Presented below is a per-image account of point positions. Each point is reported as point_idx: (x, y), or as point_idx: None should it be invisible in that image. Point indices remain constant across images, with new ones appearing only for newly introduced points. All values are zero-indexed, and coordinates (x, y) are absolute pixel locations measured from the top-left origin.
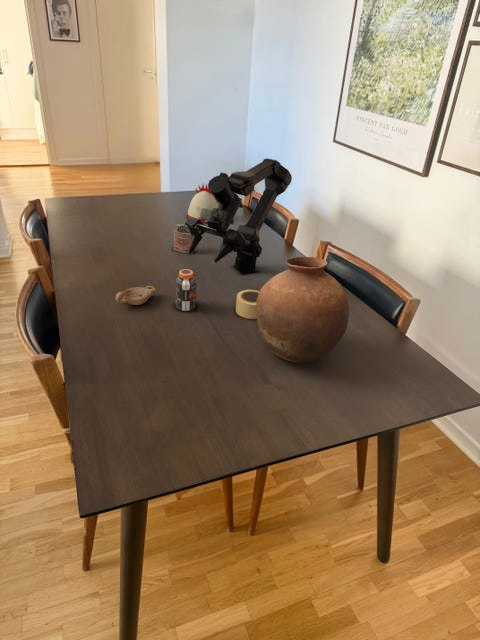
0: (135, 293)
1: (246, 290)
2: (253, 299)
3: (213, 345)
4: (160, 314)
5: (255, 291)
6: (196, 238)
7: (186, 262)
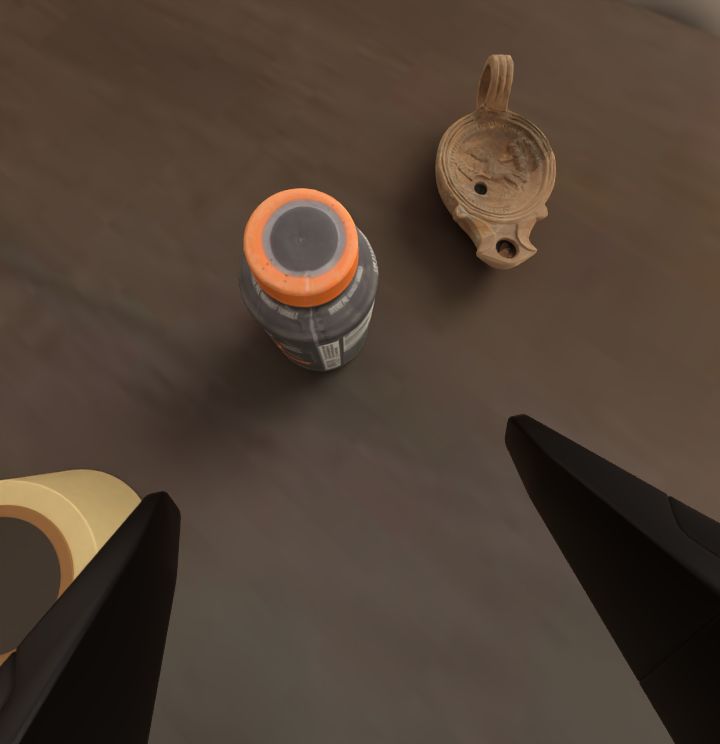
0: (507, 176)
1: None
2: None
3: (20, 219)
4: None
5: None
6: (680, 633)
7: None
